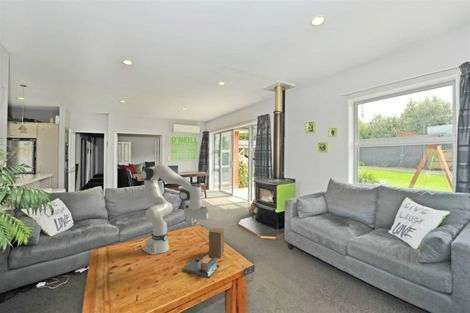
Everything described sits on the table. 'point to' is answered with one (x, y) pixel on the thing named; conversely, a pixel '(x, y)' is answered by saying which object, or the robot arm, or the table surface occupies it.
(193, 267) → the vise base
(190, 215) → the robot arm
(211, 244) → the wooden block
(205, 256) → the sliding jaw
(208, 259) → the rust block
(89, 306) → the table surface
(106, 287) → the table surface
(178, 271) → the table surface
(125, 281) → the table surface
